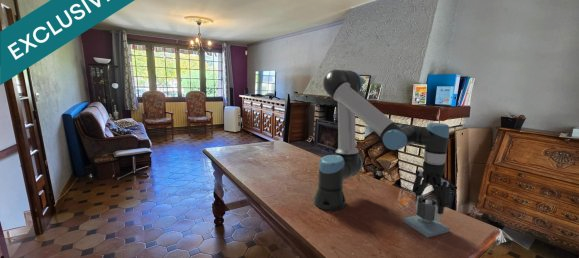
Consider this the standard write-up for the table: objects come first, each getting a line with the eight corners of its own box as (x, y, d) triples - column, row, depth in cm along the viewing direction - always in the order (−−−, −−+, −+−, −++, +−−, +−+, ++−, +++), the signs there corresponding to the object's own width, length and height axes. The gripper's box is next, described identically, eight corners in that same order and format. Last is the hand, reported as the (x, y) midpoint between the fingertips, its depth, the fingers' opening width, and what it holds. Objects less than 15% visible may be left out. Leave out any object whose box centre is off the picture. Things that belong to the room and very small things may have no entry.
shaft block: (427, 237, 96) (431, 210, 94) (403, 221, 107) (406, 196, 105) (449, 231, 100) (453, 205, 98) (424, 216, 111) (427, 192, 109)
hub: (428, 222, 97) (430, 207, 96) (412, 212, 105) (413, 199, 104) (443, 218, 100) (445, 204, 99) (426, 209, 108) (427, 196, 107)
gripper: (467, 169, 90) (458, 226, 94) (419, 154, 109) (413, 202, 113) (452, 171, 88) (444, 230, 92) (406, 155, 107) (401, 204, 111)
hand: (427, 214), depth 103 cm, fingers closed on hub, 8 cm apart
